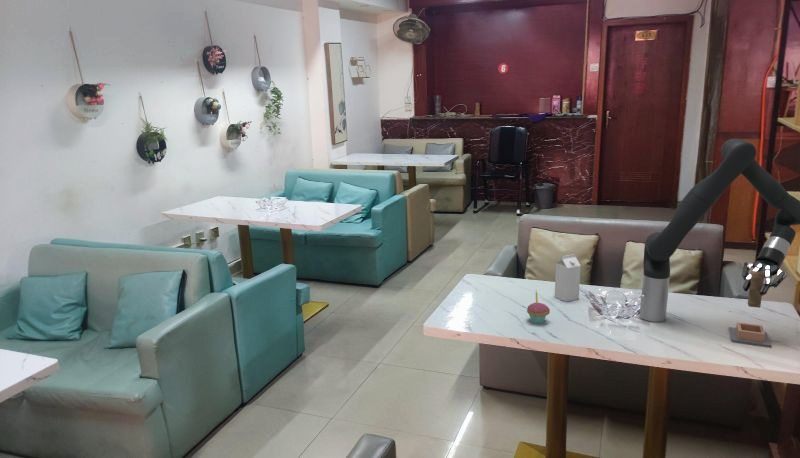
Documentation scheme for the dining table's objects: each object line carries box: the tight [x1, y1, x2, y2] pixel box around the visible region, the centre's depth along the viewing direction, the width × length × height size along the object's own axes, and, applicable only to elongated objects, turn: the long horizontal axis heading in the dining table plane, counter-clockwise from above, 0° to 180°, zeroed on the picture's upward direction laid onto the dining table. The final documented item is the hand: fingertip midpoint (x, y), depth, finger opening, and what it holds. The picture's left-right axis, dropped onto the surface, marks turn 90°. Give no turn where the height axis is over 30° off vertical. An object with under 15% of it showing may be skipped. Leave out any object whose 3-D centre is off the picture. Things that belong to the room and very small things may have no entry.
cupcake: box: [526, 290, 551, 324], centre depth 229 cm, size 9×8×12 cm
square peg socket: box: [728, 321, 772, 348], centre depth 212 cm, size 12×12×4 cm
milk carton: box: [554, 253, 582, 303], centre depth 251 cm, size 7×7×19 cm
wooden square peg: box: [747, 270, 765, 308], centre depth 208 cm, size 4×4×12 cm
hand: (753, 292), depth 207 cm, fingers closed on wooden square peg, 4 cm apart
